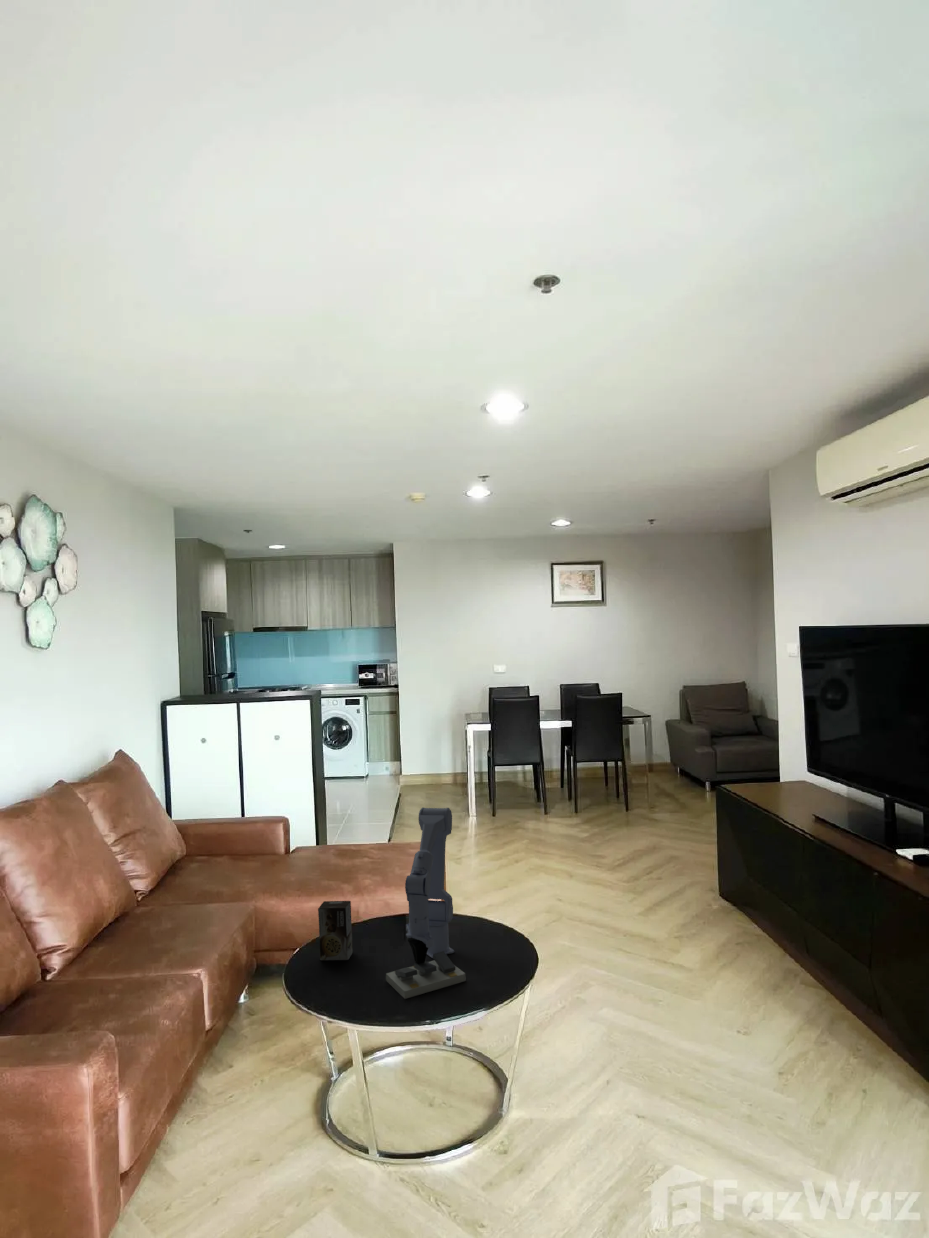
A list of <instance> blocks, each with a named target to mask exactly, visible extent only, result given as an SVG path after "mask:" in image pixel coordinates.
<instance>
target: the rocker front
mask: <svg viewBox="0 0 929 1238" xmlns="http://www.w3.org/2000/svg"><path fill="white" fill-rule="evenodd" d="M394 971H395V974H396V975H397V976H401V977H405V978H406V977H410V976H414V975H417V970H415V969H411V968H408V967H403V968H400V969H396V970H394Z"/></svg>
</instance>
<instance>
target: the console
mask: <svg viewBox="0 0 929 1238" xmlns="http://www.w3.org/2000/svg"><path fill="white" fill-rule="evenodd" d="M428 962H429V963H431V964H433V965H435V966H436V969H437V971H434V972H431V973H427V974H425V973H423V972H421V971H419V970H417V969H415V968H414V965H412V966H409V967H407V968H411V969H415V970H417V975H414V976H410V977H406V978H405V977H401V976H397V975H396V974H395V970H394V971H390V972H386V973H385V981H386V982H387V983H388V984H389V985H390V986H391V987H392V988H393V989H394V990H395V991H396V992H397V993H398V994H399V995H400V996H401V997H402V998H403V999H404V1000H406V999H409V998H413V997H416V996H419V995H422V994H425V993H429V992H432V991H433V992H434V991H436V990H440V989H443V988H447V987H450V986H453V985H456V984H460V983H463V982H466V981H467V980H466V975H467V974H466V972H464V971H463V970H462V969H460V968H459V967H457V966H456V965H455V964H454V966H455V971H452V972H448V973H445V974H444V972H443V971H442V970H441V968H440V967H439V966H438V964H437V963H436V962H435V960H434V959H433V960H431V961H428Z"/></svg>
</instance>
